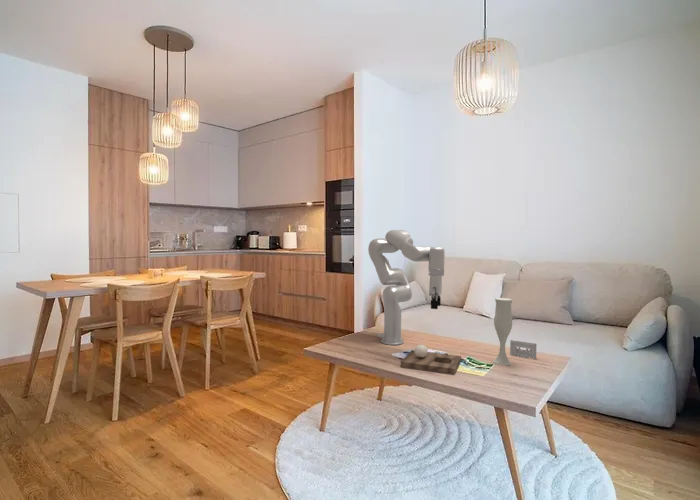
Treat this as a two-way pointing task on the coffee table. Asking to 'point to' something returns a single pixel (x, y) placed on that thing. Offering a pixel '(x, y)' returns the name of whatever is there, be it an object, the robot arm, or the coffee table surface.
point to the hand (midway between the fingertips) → (435, 307)
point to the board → (432, 362)
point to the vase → (503, 327)
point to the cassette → (523, 353)
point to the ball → (421, 351)
